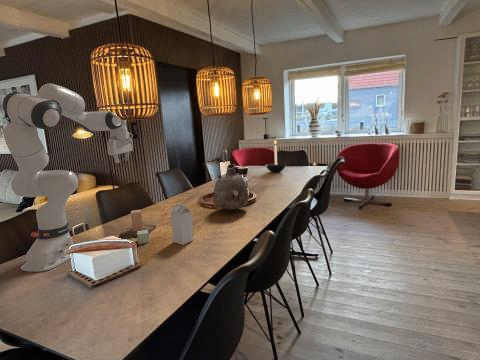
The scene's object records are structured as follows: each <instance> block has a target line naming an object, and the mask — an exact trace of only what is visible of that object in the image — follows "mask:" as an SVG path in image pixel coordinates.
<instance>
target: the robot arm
mask: <svg viewBox="0 0 480 360" xmlns="http://www.w3.org/2000/svg"><path fill="white" fill-rule="evenodd" d="M85 109H86V102H85V100H84V98H83V97H82V95H80V94H78V93H77V92H75V91H73V90H71V89H69V88H66V87H65V86H61V85H57V84H54V83H46V84H45V83H44V84H43V85H41V87H40V88H39V90H38V92H37V95H32V94H27V93H25V92H21V91H15V92H14V91H13V92H9V93H8V94H6V95H5V96H4V98H3V100H2V110H3V112H4V119H6V121H7V122H9V123H8V124H6V125H5V126H4V128H3V130H2V134H3V138H4V142H5V144H6V147H7V149H8V151H9V153H10V154H11V156H12V157H13V159H14V161H15V163H16V165H17V168H18V172H17V173H16V175H14V176H13V178H12V180H11V182H10V183H11V185H10V186H11V187H10V188H11V189H12V192H13V193H14V194H15V195H16V196H18V197H23V198H24V197H25V198H36V197H37V198H41V197H46V199H47V202H45V203H44V204H42V205H40V206H39V207H38V208H37V210H36V211H35V216H36V221H37V226H38V228H37V231H36V232H34V231H33V232H31V234H30V237H32V238H36V240H35V241H34V242H33V243H32V245H31V246H30V248H29V250H28V251H27V252H26V254H25V257H26V262H24V263H23V264H22V265H21V266H20V270H21V271H24V272H31V273H32V272H34V273H35V272H37V273H38V272H45V271H49V270H52V269H54V268H56V267H58V266H60V265H62V264H63V263H66V262H68V261H70V260H71V259H70V255H69V254H65V253H64V251H65V250H67V249H68V248H69V247H70V246H71V245H74V241H73V237H72V236H71V234H70V225H69V222H68V221H67V211H66V205H67V203H68V199H69V198H70V196H71V195H72V194H73V193H75V192H76V190H77V189H78V187H79V178H78V176H77V174H76V173H75V172H74V171H72V170H66V169H55V170H53V169H52V170H43V169H45V168H46V167H47V166H48V165H49V162H50V157H49V155H48V152H47V150H46V148H45V146H44V144H43V142H42V140H41V138H40V136H39V134H38V129H41V130H47V131H50V130H53V129H55V128H56V127H58V125H59V123H60V121H61V118H62V116H63V117H65V118H67V119H69V120H71V121H73V122H74V123H77V124H78V125H80V126H81V127H82V128H83V129H84V130H85V131H86V132H90V133H91V132H92V133H93V132H100V131H101V132H103V131H104V132H105V131H109V135H110V137H109V138H108V140H107V143H106V145H107V154H108V155H109V156H112V157H113V160H114V163H115V164H119V163H121V162H120V161H121V159H119V155H121V154H124V157H123V158H124V161H129V160H130V152H133V151H134V144H133V143H134V142H133V134H132V133H130V132H129V131H128V128H127V119H126V120H122V119H120V118H118V117H117V116H116V114H114V113H113V112H111V111H107V110H106V109H104V110H103V111H101V110H100V111H85Z"/></svg>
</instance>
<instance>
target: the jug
mask: <svg viewBox="0 0 480 360" xmlns="http://www.w3.org/2000/svg"><path fill="white" fill-rule="evenodd" d="M213 200H214V201H213V202H214V204H215V205H214V206H215V207H217V208H220V209H225V210H228V211H230V212H231V211H232V212H234V211H235V210H237V209H240V208H243V207H244V206H246V205H247V204H248V202H249V190H248V186H247V183H246V181H245V179H244V178H243V177H242V176H241V175H239V174H237V172H236V165H235V163H231V164H227V167H226V173H224V174H218V176H217V179H216V182H215V183H214V189H213Z"/></svg>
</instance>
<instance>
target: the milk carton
mask: <svg viewBox="0 0 480 360" xmlns="http://www.w3.org/2000/svg"><path fill="white" fill-rule="evenodd" d="M170 221H171V223H170V224H171V231H172V233H171V234H172V242H173V243H174V244H179V245H182V246H184V245H186V244H189V243H191V242H193V241H194V229H193V211H192V210H191V209H189V208H188V207H186V204H183V203H179V202H175V204H174V207H173V208H172V210H171V211H170Z"/></svg>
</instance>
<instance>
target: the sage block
mask: <svg viewBox="0 0 480 360" xmlns="http://www.w3.org/2000/svg"><path fill="white" fill-rule="evenodd" d="M137 235H138V237H137V241H138V245H143V244H147V243H150V237H149V235H150V234H148V230H142V231H137Z"/></svg>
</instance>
